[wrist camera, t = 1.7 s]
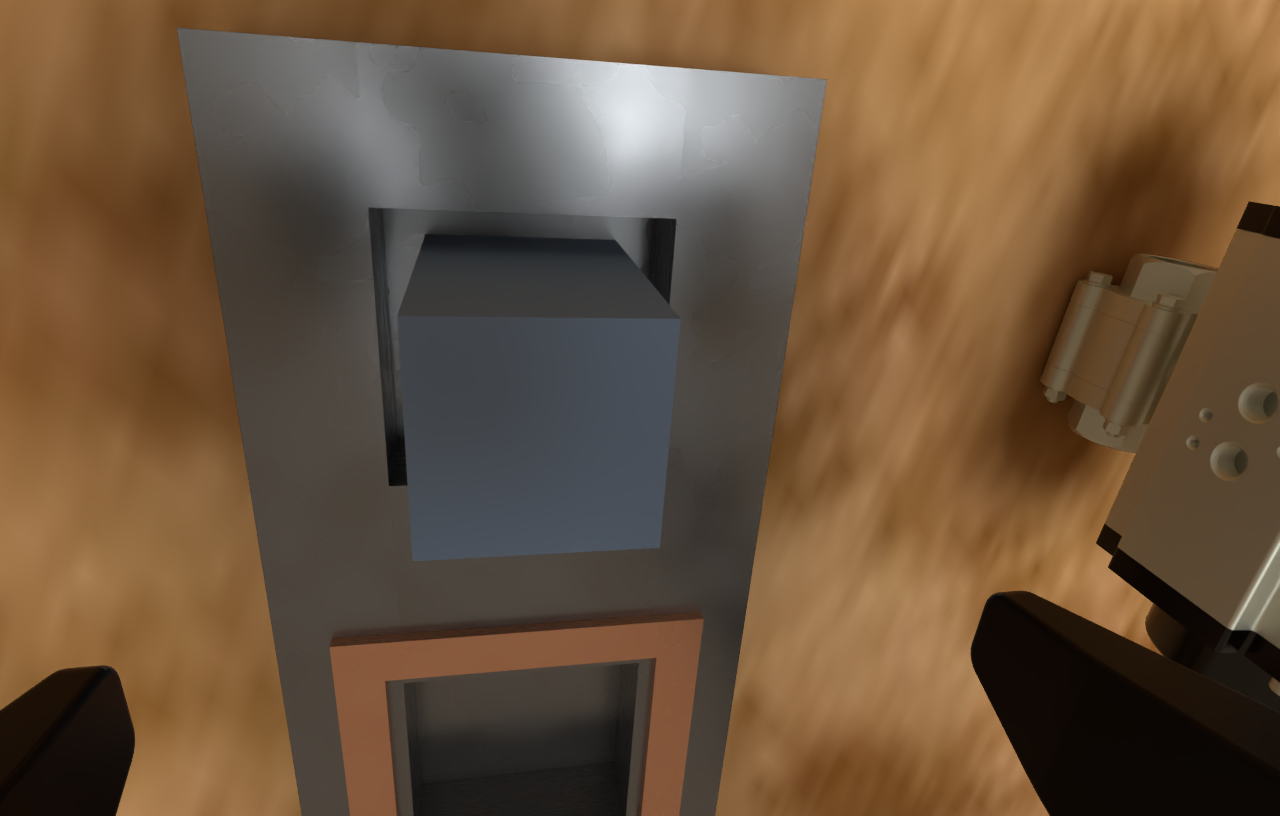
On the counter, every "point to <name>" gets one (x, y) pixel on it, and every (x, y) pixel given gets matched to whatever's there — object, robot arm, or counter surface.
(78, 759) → the robot arm
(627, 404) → the slate gray peg
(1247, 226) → the pneumatic valve
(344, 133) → the socket plate
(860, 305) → the counter surface
